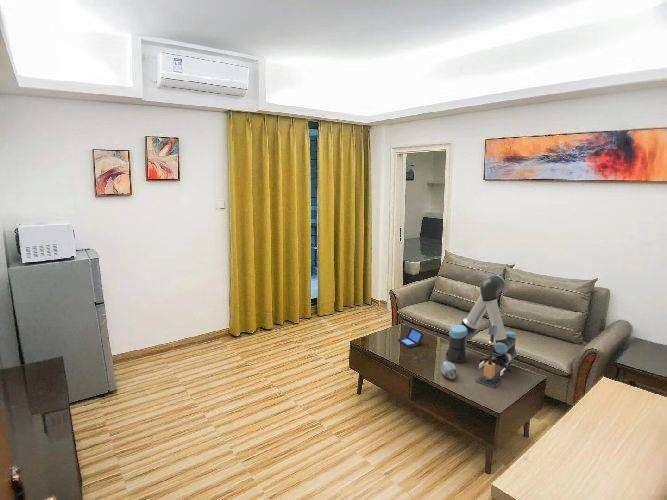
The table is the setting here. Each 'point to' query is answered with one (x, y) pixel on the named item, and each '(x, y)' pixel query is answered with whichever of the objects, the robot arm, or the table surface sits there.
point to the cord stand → (490, 361)
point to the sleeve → (489, 370)
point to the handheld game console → (412, 338)
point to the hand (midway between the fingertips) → (489, 370)
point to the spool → (448, 370)
